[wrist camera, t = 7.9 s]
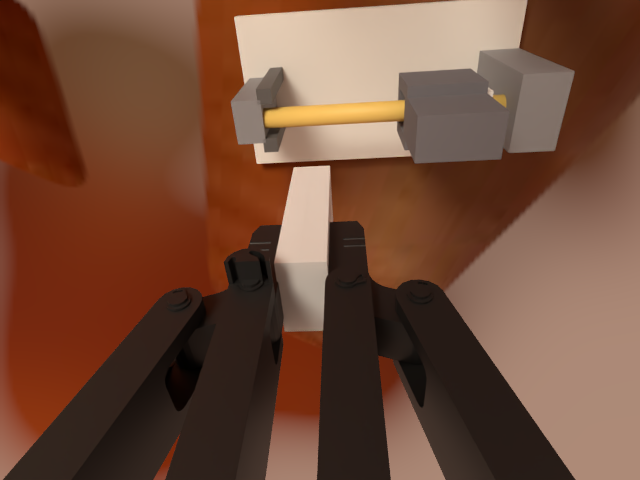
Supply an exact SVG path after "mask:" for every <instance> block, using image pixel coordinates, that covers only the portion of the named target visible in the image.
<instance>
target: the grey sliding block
mask: <svg viewBox="0 0 640 480" xmlns="http://www.w3.org/2000/svg"><path fill="white" fill-rule="evenodd" d="M488 85H489V81H488V80H486V79H485V78H483V77H482V76H480V75H479V74H478V73H476V72H475V71H473V70H472V69H471V68H469V69H453V70H436V71H420V72H403V73H399V86H398V100H405V108H404V121H397V132H398V135H399V137H400V140H401V143H402V145H403V148H404V150H409V151H410V153H411V156H412V158H413V161H414V163H434V162H455V161H476V160H497V159H501V157H502V152H503V146H504V141H505V135H506V130H507V124H508V119H509V113H510V111H509V110H508V109H507V108H505V107H504V106H503V105H502V104H500V103H499V102H498V101H496V100H495V99H494V98H493V97H491V96H490V95H489V94H488V93H487V92H488Z"/></svg>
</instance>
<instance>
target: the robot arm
mask: <svg viewBox="0 0 640 480" xmlns="http://www.w3.org/2000/svg"><path fill="white" fill-rule="evenodd" d="M224 265H225V269H226V273H227V278H228V282H229V286H228V289H227V290H225V291H223V292H220V293H217V294H213V295H209V296H205V297H202V295H201V293H200V292H199V291H198V290H196V289H193V288H178V289H175V290H172V291H170V292H168V293H166V294H164V295H163V296H162V297H161V298H160V299H159V300H158V301H157V302H156V303H155V304H154V305H153V307H152V308H151V309H150V310H149V311H148V312H147V314H146V315H145V316H144V317H143V318H142V320H141V321H140V322H139V323H138V324H137V325H136V326H135V327H134V329H133V330H132V331H131V332H130V333H129V334H128V336H127V337H126V338H125V339H124V340H123V341H122V342H121V344H120V345H119V346H118V347H117V348H116V349H115V351H114V352H113V353H112V354H111V355H110V356H109V358H108V359H107V360H106V361H105V362H104V363H103V365H102V366H101V367H100V368H99V369H98V370H97V371H96V373H95V374H94V375H93V376H92V377H91V378H90V380H89V381H88V382H87V383H86V384H85V385H84V387H83V388H82V389H81V390H80V391H79V392H78V393H77V395H76V396H75V397H74V398H73V399H72V401H71V402H70V403H69V404H68V405H67V406H66V407H65V408H64V410H63V411H62V412H61V413H60V414H59V416H58V417H57V418H56V419H55V420H54V421H53V422H52V424H51V425H50V426H49V427H48V428H47V429H46V430H45V432H44V433H43V434H42V435H41V436H40V437H39V439H38V440H37V441H36V442H35V443H34V444H33V446H32V447H31V448H30V449H29V450H28V451H27V453H26V454H25V455H24V456H23V457H22V458H21V459H20V461H19V462H18V463H17V464H16V465H15V466H14V468H13V469H12V470H11V471H10V472H9V473H8V475H7V476H6V477H5V478H4V479H3V480H153V479H154V477H155V475H156V474H157V472H158V470H159V469H160V467H161V465H162V463H163V462H164V460H165V458H166V456H167V455H168V453H169V451H170V449H171V448H172V446H173V444H174V443H175V441H176V439H177V437H178V436H179V434H180V436H179V439H178V442H177V445H176V449H175V452H174V455H173V458H172V461H171V464H170V467H169V470H168V473H167V476H166V479H165V480H265V476H266V469H267V462H268V455H269V446H270V439H271V431H272V424H273V417H274V410H275V403H276V395H277V387H278V380H279V373H280V366H281V358H282V351H283V338H282V326H283V324H284V330H285V331H323V346H322V372H321V397H320V422H319V446H318V471H317V472H318V473H317V480H391V479H390V468H389V458H388V448H387V438H386V429H385V419H384V409H383V399H382V389H381V380H380V370H379V360H378V355H379V356H383V357H387V358H390V359H393V362H394V365H395V367H396V370H397V372H398V374H399V376H400V378H401V381H402V383H403V385H404V387H405V390H406V392H407V394H408V396H409V399H410V401H411V403H412V405H413V408H414V410H415V412H416V414H417V417H418V419H419V421H420V423H421V425H422V428H423V430H424V432H425V434H426V436H427V439H428V441H429V443H430V446H431V448H432V450H433V452H434V454H435V457H436V459H437V461H438V463H439V466H440V468H441V470H442V472H443V475H444V477H445V479H446V480H575V478H574V477H573V476H572V474H571V473H570V471H569V470H568V468H567V467H566V466H565V464H564V463H563V461H562V460H561V458H560V457H559V456H558V454H557V453H556V451H555V450H554V448H553V447H552V446H551V444H550V443H549V441H548V440H547V439H546V437H545V436H544V434H543V433H542V431H541V430H540V429H539V427H538V426H537V424H536V423H535V421H534V420H533V419H532V417H531V416H530V414H529V413H528V411H527V410H526V409H525V407H524V406H523V405H522V403H521V401H520V400H519V399H518V397H517V396H516V394H515V393H514V391H513V390H512V389H511V387H510V386H509V384H508V383H507V381H506V380H505V379H504V377H503V376H502V375H501V373H500V371H499V370H498V369H497V367H496V366H495V364H494V363H493V361H492V360H491V359H490V357H489V356H488V354H487V353H486V351H485V350H484V349H483V347H482V346H481V345H480V343H479V342H478V340H477V339H476V337H475V336H474V335H473V333H472V332H471V330H470V329H469V327H468V326H467V324H466V323H465V322H464V320H463V319H462V317H461V316H460V314H459V313H458V312H457V310H456V309H455V307H454V306H453V305H452V303H451V302H450V300H449V299H448V298H447V296H446V294H445V293H444V292H443V290H442V289H441V288H440V287H438V286H437V285H436V284H434V283H431V282H429V281H425V280H410V281H407V282H404V283H402V284H401V285H400V286H399V287H398V288H397V289H392V288H388V287H384V286H381V285H379V284H377V283H376V282H375V281H373V280H372V279H371V277H370V276H369V273H368V266H367V256H366V246H365V236H364V228H363V227H362V226H361V225H360V224H359V223H358V222H357V221H347V222H333V212H332V194H331V176H330V166H312V167H294V169H293V174H292V178H291V183H290V188H289V193H288V198H287V203H286V208H285V212H284V217H283V222H282V225H266V226H260V227H259V228H258V229H257V230H256V231H255V232H254V233H253V234H252V237H251V241H250V244H249V247H248V249H242V250H239V251H236V252H234V253H232V254H231V255H230V256H228V257H227V258H226V260H225V261H224ZM180 432H181V433H180Z"/></svg>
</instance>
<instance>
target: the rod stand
mask: <svg viewBox="0 0 640 480" xmlns="http://www.w3.org/2000/svg"><path fill="white" fill-rule="evenodd" d="M527 1H528V0H457V1H442V2H428V3H414V4H400V5H386V6H372V7H357V8H343V9H329V10H315V11H301V12H287V13H272V14H258V15H244V16H236V17H234V19H235V26H236V32H237V39H238V45H239V52H240V58H241V64H242V71H243V77H244V84H245V85H244V86H243V87H242V88H241V90H240V91H239V92H238V93H237V95H236V96H235V97H234V98H233V100H232V101H231V106H232V111H233V117H234V123H235V128H236V134H237V140H238V144H254V148H255V155H256V161H257V164H262V163H282V162H302V161H323V160H343V159H364V158H384V157H405V156H411V153H410V151H409V150H404V148H403V145H402V143H401V140H400V137H399V135H398V132H397V121H404V108H405V100H398V86H399V73H403V72H420V71H436V70H453V69H469V68H471V69H472V70H473V71H475V72H476V73H478V74H479V75H480V76H482V77H483V78H485V79H486V80H488V81H489V85H488V92H487V93H488V94H489V95H490V96H491V97H493V98H494V99H495V100H496V101H498V102H499V103H500V104H502V105H503V106H504V107H505V108H507V109H508V110H509V111H510V113H509V119H508V124H507V130H506V135H505V141H504V146H503V148H504V149H505V150H506V151H507V152H508V153H521V152H541V151H555V148H556V144H557V140H558V136H559V132H560V128H561V124H562V120H563V116H564V112H565V108H566V105H567V101H568V97H569V93H570V89H571V85H572V81H573V77H574V73H575V71H573V70H571V69H568V68H566V67H563V66H561V65H559V64H556V63H554V62H551V61H549V60H546V59H544V58H542V57H539V56H537V55H534V54H532V53H529V52H527V51H525V50H522V49H520V48H519V45H520V40H521V34H522V29H523V23H524V17H525V12H526V6H527Z"/></svg>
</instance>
